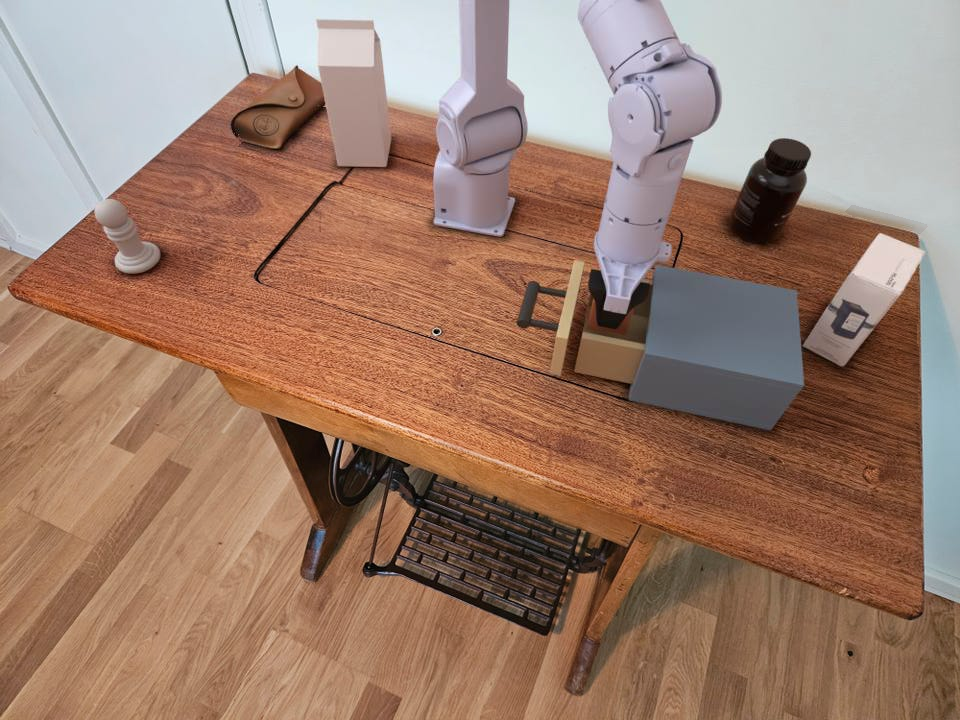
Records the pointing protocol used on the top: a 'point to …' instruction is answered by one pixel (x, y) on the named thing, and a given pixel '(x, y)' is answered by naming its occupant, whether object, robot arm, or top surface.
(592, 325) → the block
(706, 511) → the top surface
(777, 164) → the supplement bottle
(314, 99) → the sunglasses case
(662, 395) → the cabinet
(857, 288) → the ink box
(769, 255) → the top surface
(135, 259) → the chess piece
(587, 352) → the drawer
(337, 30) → the milk carton
